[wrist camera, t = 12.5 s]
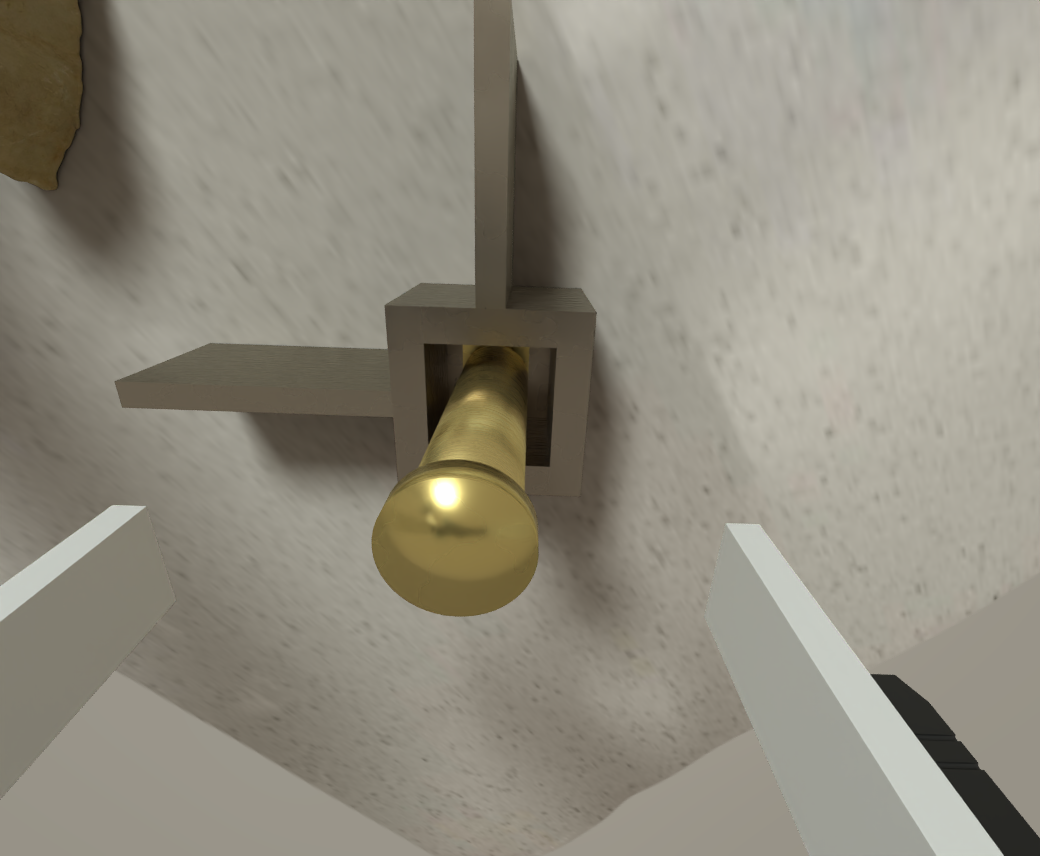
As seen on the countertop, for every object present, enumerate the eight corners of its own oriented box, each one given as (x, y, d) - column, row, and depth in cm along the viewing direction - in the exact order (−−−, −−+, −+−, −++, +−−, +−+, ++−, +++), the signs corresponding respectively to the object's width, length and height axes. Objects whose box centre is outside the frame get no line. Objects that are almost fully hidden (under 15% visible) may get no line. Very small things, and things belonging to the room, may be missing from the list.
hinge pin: (459, 404, 28) (377, 612, 14) (457, 330, 27) (364, 474, 12) (533, 407, 28) (534, 619, 13) (537, 333, 27) (542, 482, 12)
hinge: (227, 423, 30) (143, 480, 24) (146, 47, 23) (-5, -19, 16) (570, 435, 30) (580, 496, 23) (598, 60, 23) (624, -2, 16)
